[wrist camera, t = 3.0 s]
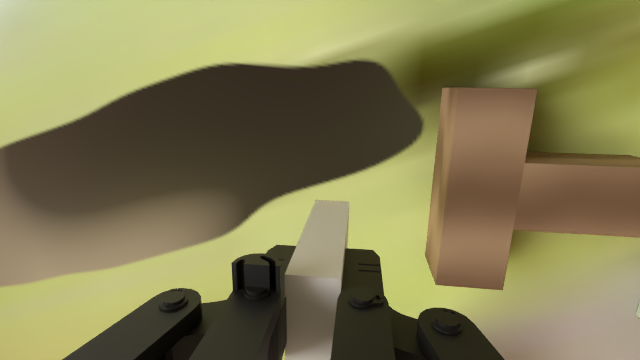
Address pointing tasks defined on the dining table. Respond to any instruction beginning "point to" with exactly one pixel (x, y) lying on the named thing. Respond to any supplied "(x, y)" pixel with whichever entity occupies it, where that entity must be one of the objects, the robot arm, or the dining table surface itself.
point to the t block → (514, 187)
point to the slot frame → (638, 311)
